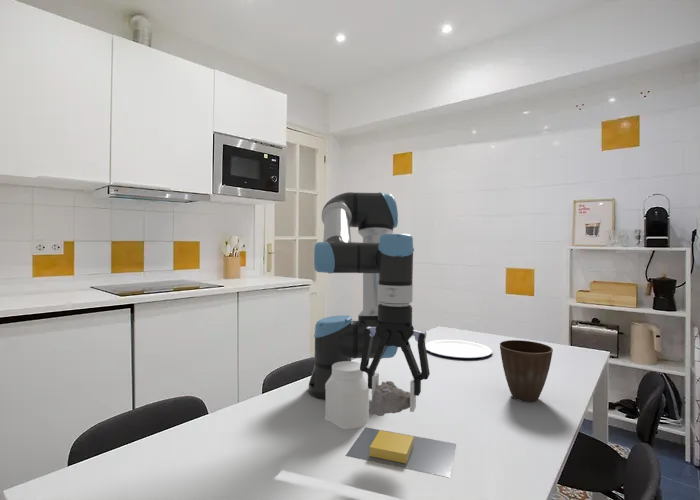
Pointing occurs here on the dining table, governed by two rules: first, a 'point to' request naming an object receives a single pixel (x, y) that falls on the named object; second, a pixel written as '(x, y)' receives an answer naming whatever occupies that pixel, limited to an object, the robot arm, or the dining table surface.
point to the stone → (389, 399)
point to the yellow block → (392, 446)
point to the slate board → (422, 457)
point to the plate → (458, 349)
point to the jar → (347, 396)
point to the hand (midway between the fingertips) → (393, 406)
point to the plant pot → (525, 367)
